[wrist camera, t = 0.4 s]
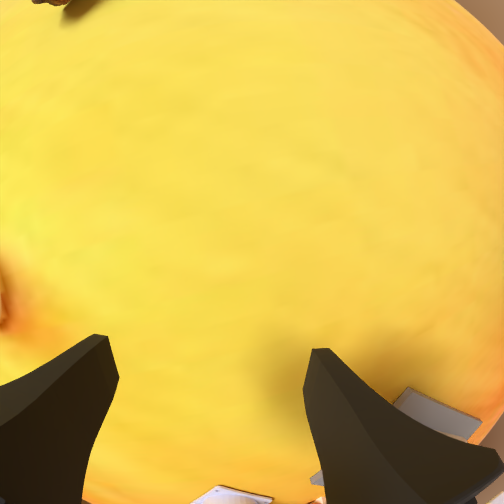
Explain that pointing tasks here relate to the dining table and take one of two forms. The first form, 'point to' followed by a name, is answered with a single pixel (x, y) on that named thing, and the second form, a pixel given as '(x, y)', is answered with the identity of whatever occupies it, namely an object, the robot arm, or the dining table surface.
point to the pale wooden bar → (320, 501)
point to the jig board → (430, 419)
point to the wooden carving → (51, 2)
